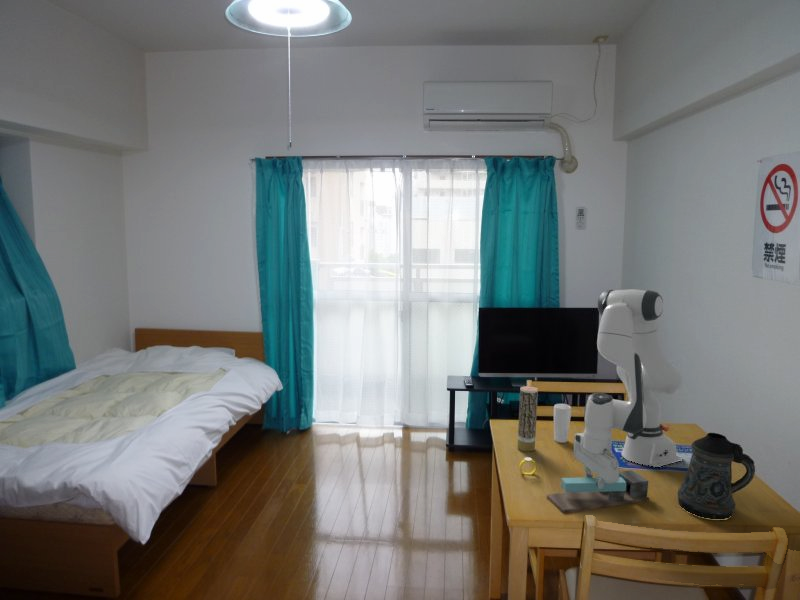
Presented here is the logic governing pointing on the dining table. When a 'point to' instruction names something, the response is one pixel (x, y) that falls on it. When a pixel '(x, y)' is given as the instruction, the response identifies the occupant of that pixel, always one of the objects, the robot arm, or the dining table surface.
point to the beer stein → (713, 477)
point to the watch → (527, 461)
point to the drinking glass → (561, 422)
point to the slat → (591, 485)
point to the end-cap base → (603, 495)
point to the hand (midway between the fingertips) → (594, 483)
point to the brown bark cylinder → (527, 418)
